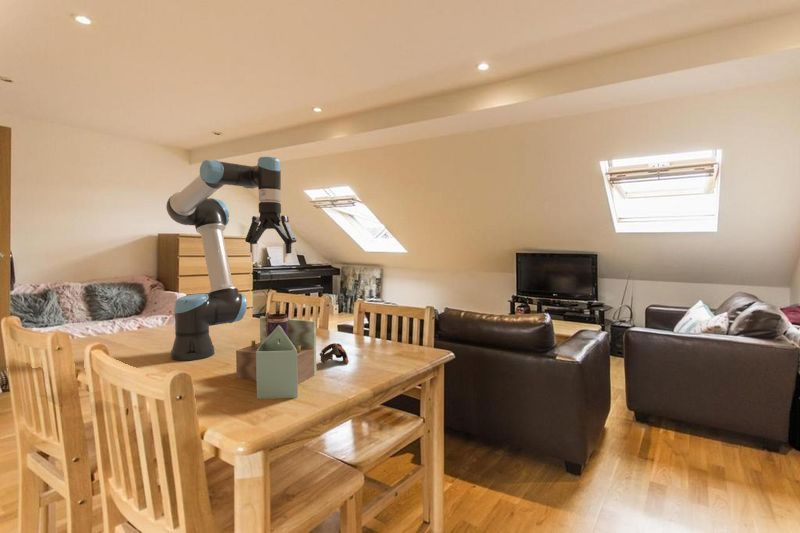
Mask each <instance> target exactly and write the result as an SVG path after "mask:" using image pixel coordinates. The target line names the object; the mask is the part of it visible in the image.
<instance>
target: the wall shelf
mask: <svg viewBox="0 0 800 533" xmlns="http://www.w3.org/2000/svg"><path fill="white" fill-rule="evenodd" d="M288 337H289V340H290V341H291V342H292V344H293V345H294V347H295V348H296V350H297V376H298V385H300V384H301V383H303V382H305V381H307V380H309V379H311V378H313V377H315V376H316V375H317V321H316V320H308V319H295V318H288ZM266 338H267V336H266V316H263V315H261V316H260V317H259V341H260V342H258V343H256V340H251V343H250V344H251V345H249V346H246V347H243V348H239V349H237V350H235V356H236V358H235V359H236V360H235V361H236V369H235V370H236V379H240V380H241V379H242V380H248V381H255V382H257V380H256V351H257V349H258V348H259V346H260V345H261V344H262V342H263V341H264V340H265V339H266Z"/></svg>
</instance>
